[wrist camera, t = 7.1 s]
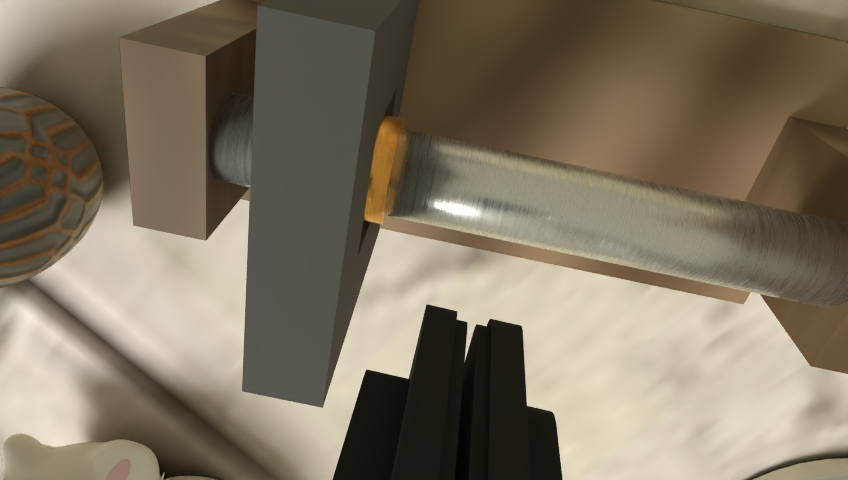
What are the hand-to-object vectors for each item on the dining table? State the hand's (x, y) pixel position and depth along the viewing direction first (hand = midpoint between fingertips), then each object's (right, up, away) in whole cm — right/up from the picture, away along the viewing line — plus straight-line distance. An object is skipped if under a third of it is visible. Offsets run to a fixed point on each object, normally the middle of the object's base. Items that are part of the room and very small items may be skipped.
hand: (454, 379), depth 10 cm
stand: (+3, +7, +11) cm, 14 cm away
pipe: (+3, +4, +7) cm, 9 cm away
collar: (-2, +7, +9) cm, 12 cm away
